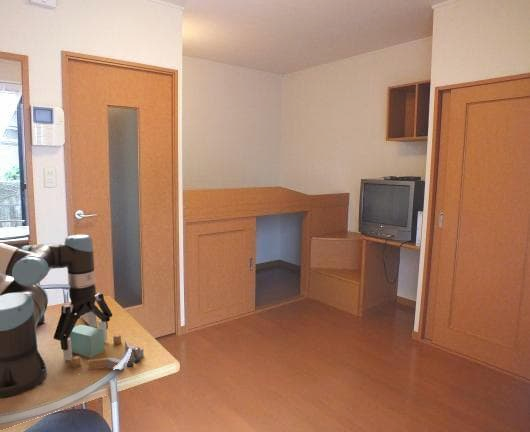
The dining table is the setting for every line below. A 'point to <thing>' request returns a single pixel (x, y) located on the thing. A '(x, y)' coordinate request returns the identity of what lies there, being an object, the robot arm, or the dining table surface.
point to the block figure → (104, 361)
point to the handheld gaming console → (90, 319)
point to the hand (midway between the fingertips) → (86, 349)
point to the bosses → (136, 357)
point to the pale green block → (87, 340)
